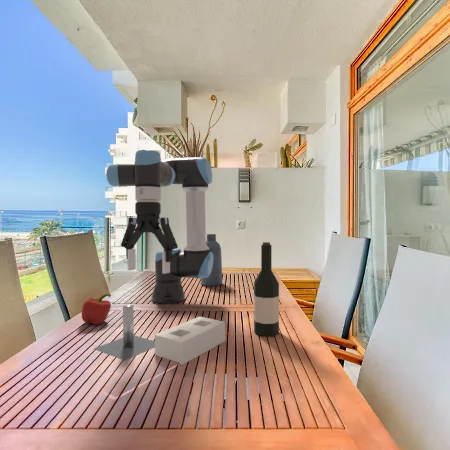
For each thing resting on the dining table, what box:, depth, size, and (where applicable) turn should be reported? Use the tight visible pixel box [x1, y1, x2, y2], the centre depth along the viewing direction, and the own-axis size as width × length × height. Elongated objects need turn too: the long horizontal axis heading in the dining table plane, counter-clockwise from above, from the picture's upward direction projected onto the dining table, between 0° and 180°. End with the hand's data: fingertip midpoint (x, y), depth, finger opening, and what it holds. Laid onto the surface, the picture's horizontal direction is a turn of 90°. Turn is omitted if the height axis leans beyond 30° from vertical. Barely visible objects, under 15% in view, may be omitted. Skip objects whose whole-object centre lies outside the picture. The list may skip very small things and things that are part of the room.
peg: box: [122, 303, 135, 348], centre depth 99 cm, size 3×3×12 cm
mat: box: [93, 334, 155, 361], centre depth 99 cm, size 14×14×1 cm
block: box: [154, 316, 226, 366], centre depth 98 cm, size 20×10×6 cm, turn 146°
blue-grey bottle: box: [200, 233, 223, 287], centre depth 190 cm, size 12×12×28 cm
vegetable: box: [81, 293, 112, 326], centre depth 122 cm, size 11×10×10 cm
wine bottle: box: [253, 241, 280, 338], centre depth 111 cm, size 8×8×30 cm
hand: (148, 271), depth 102 cm, fingers open, 13 cm apart
